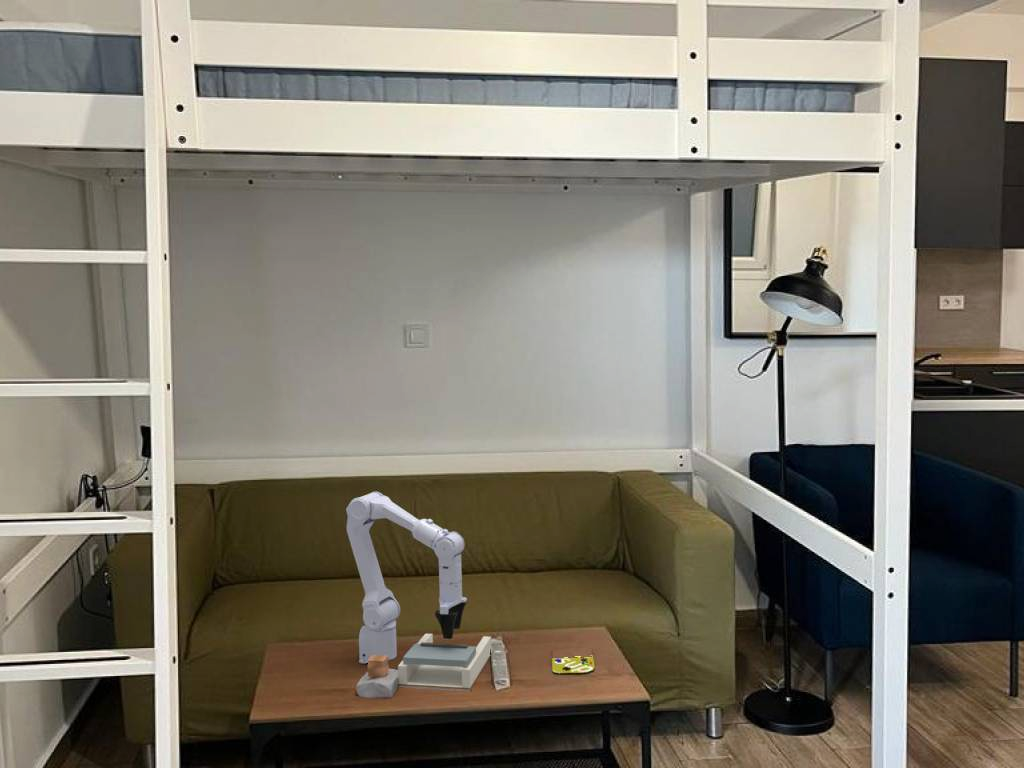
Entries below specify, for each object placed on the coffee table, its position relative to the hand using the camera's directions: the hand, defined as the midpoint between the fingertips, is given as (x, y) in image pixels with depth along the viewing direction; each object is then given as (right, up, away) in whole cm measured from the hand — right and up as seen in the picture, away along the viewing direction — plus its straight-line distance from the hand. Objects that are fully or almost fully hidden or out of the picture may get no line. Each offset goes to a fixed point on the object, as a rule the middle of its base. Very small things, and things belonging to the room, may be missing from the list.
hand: (451, 633), depth 258 cm
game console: (+31, -9, +4) cm, 33 cm away
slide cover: (-2, -4, -7) cm, 9 cm away
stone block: (-17, -11, -11) cm, 23 cm away
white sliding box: (-1, -10, -1) cm, 10 cm away
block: (-17, -7, -11) cm, 22 cm away
